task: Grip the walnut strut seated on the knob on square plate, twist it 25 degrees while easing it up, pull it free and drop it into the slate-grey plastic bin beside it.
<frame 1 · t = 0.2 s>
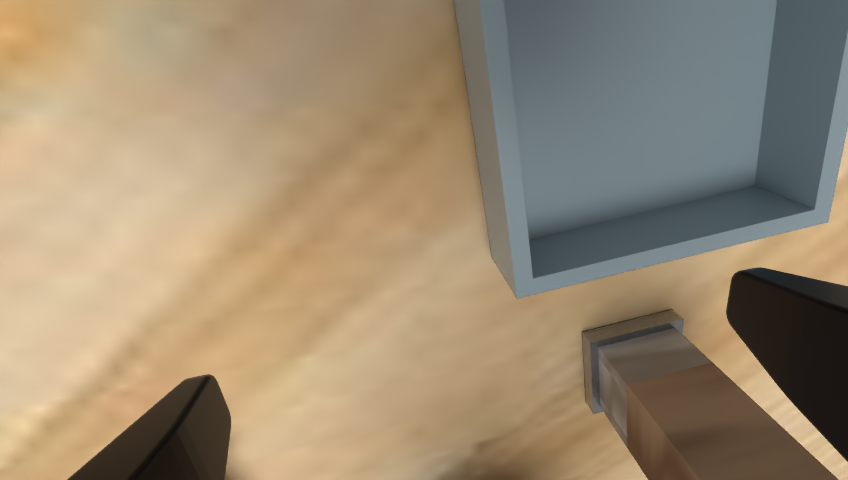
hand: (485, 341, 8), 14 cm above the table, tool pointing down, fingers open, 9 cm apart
strut: (636, 368, 27), point 1 cm above the table, touching knob on square plate
bin: (626, 81, 21), on the table
knob on square plate: (627, 357, 28), on the table
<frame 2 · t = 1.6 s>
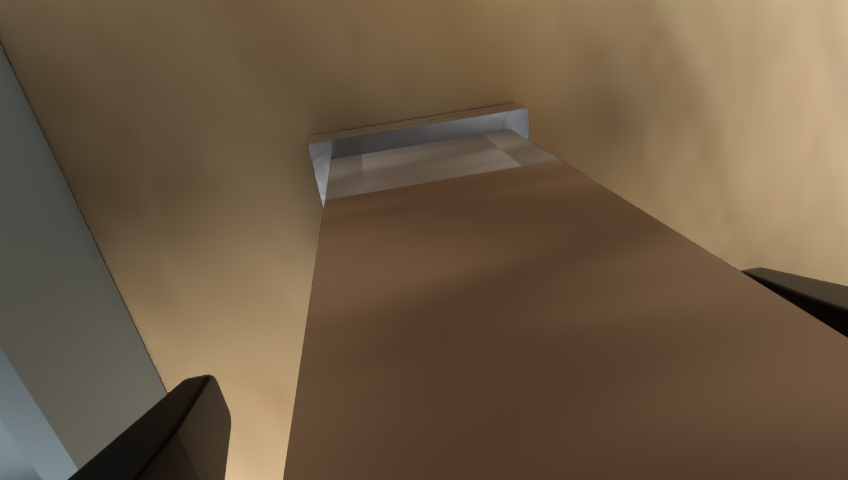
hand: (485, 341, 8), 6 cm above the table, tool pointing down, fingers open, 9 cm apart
strut: (433, 227, 12), point 1 cm above the table, touching knob on square plate
knob on square plate: (427, 214, 13), on the table
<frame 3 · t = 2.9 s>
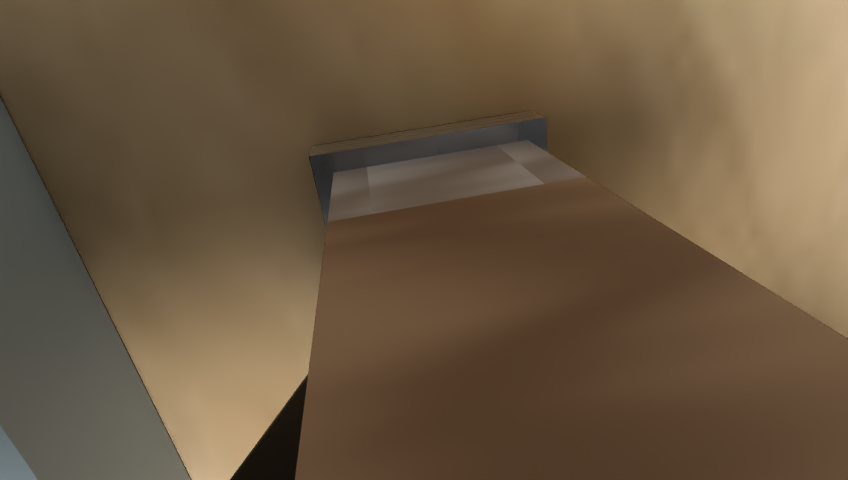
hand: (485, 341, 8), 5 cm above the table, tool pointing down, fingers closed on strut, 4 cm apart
strut: (443, 244, 12), point 1 cm above the table, touching knob on square plate, gripper
knob on square plate: (436, 229, 13), on the table
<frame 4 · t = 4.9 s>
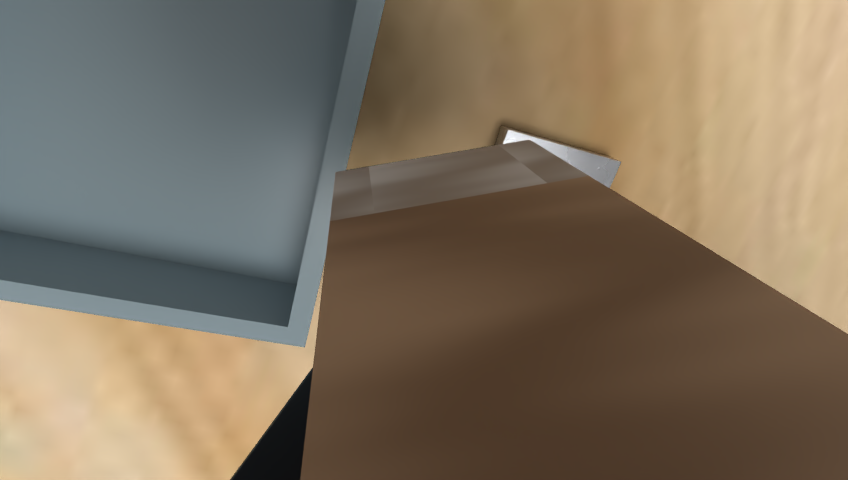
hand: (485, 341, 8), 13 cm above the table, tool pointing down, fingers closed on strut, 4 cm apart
strut: (445, 244, 12), point 9 cm above the table, touching gripper
bin: (162, 103, 18), on the table
knob on square plate: (535, 198, 22), on the table
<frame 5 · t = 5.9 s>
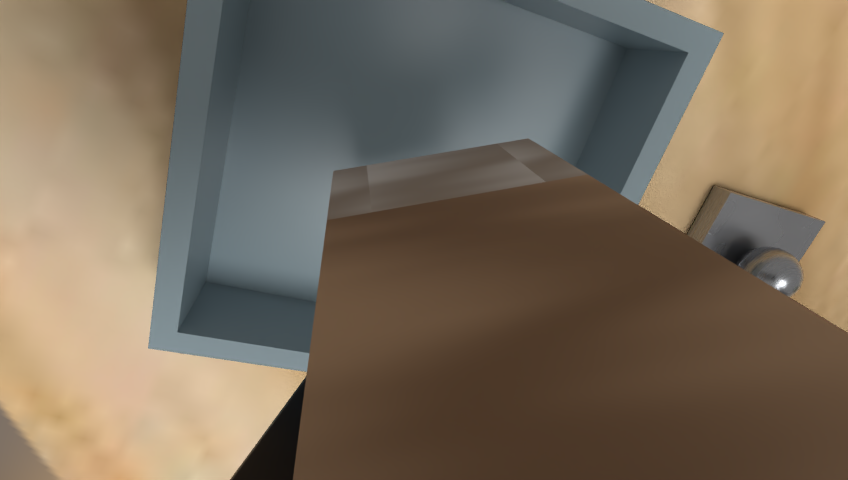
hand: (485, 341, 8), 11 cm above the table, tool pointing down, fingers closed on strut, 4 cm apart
strut: (443, 243, 12), point 7 cm above the table, touching gripper
bin: (407, 165, 18), on the table
knob on square plate: (730, 252, 22), on the table
when the fingers open (7 cm above the table, at t = 6.9 s): strut drops 2 cm, resting on bin.
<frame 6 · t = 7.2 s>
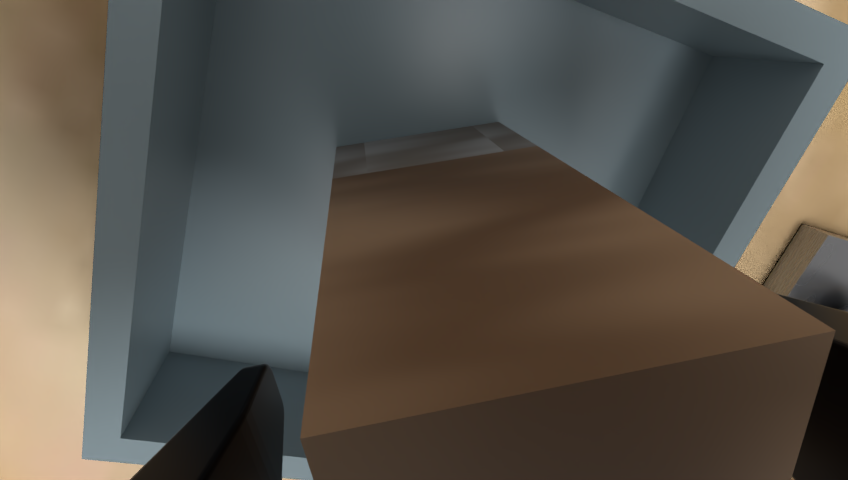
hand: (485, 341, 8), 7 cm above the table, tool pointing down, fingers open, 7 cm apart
strut: (428, 210, 14), point 1 cm above the table, touching bin
bin: (425, 204, 14), on the table
knob on square plate: (814, 302, 18), on the table
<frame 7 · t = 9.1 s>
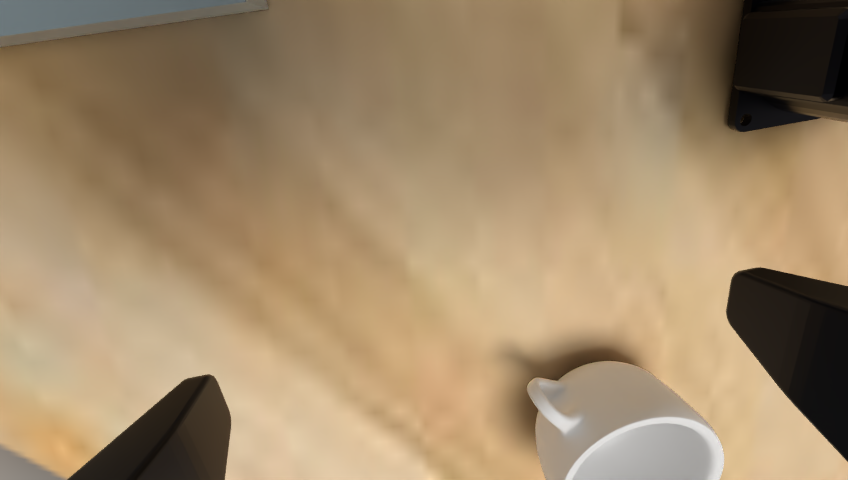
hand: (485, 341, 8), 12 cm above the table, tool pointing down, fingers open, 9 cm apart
teacup: (571, 387, 25), on the table
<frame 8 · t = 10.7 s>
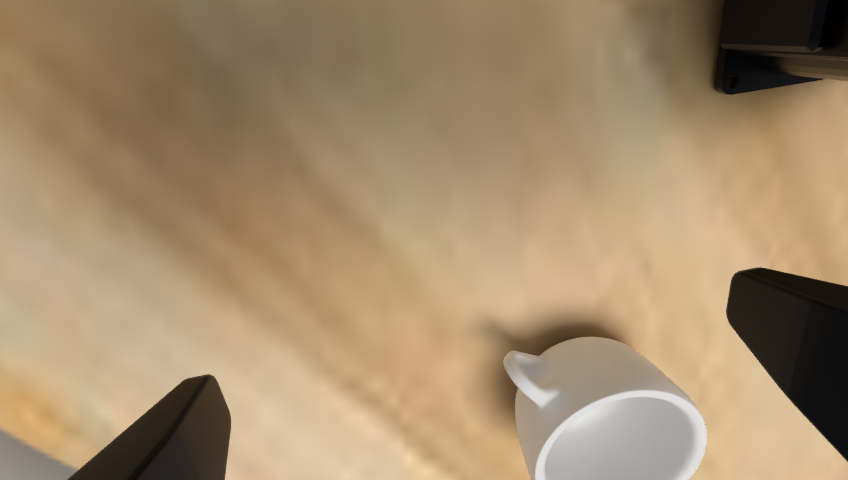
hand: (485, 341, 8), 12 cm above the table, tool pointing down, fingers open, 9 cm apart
teacup: (554, 364, 25), on the table
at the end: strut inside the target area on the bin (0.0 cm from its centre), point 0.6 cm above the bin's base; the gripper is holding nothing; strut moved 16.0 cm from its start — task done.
